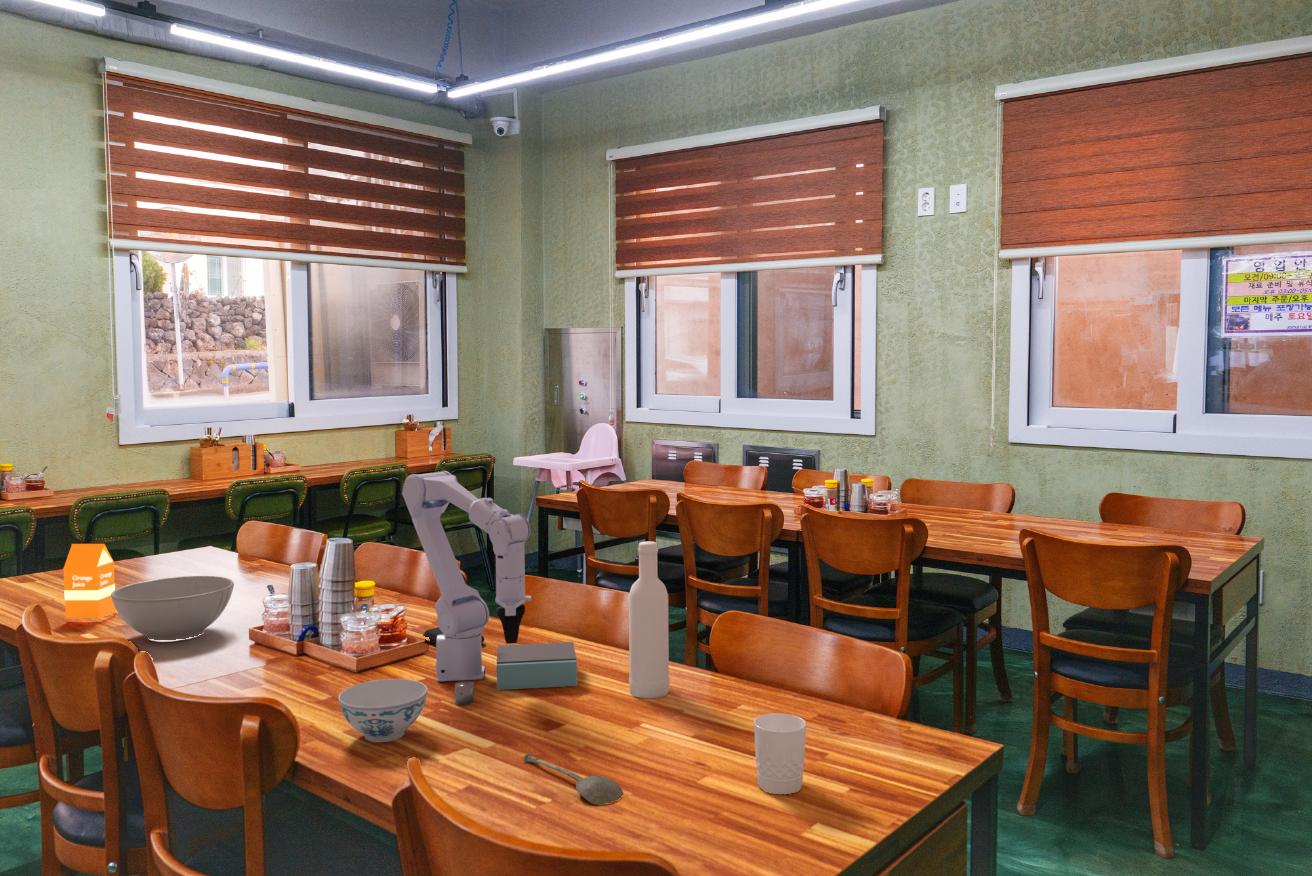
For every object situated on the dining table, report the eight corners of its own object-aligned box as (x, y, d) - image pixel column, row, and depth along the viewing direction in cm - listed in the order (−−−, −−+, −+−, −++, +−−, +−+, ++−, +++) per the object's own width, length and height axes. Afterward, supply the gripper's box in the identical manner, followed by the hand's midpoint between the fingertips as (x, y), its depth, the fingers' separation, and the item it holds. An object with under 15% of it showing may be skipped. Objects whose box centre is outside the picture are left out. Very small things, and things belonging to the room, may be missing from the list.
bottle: (677, 691, 189) (676, 542, 188) (650, 701, 184) (649, 547, 182) (648, 683, 195) (647, 537, 193) (620, 692, 189) (619, 543, 187)
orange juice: (99, 623, 246) (95, 546, 245) (65, 623, 246) (61, 546, 245) (116, 615, 254) (113, 541, 253) (83, 615, 254) (80, 541, 253)
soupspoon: (597, 818, 138) (631, 805, 143) (598, 795, 138) (632, 783, 142) (510, 767, 154) (543, 758, 159) (511, 747, 154) (544, 738, 158)
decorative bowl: (258, 630, 238) (256, 583, 237) (152, 658, 215) (150, 605, 214) (195, 617, 252) (193, 571, 251) (90, 641, 229) (88, 591, 229)
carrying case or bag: (415, 642, 227) (448, 655, 217) (415, 630, 227) (448, 642, 216) (454, 633, 235) (488, 646, 224) (454, 621, 234) (487, 633, 224)
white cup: (749, 776, 149) (749, 714, 149) (799, 774, 150) (799, 712, 149) (759, 798, 142) (759, 732, 141) (811, 796, 142) (811, 730, 142)
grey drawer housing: (497, 688, 192) (496, 662, 192) (498, 670, 204) (498, 645, 204) (576, 684, 194) (576, 658, 194) (573, 667, 206) (573, 642, 206)
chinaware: (444, 725, 172) (443, 683, 172) (396, 756, 158) (395, 711, 158) (374, 716, 177) (373, 675, 177) (321, 745, 163) (319, 701, 163)
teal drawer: (497, 690, 191) (496, 665, 190) (498, 671, 202) (497, 648, 202) (577, 685, 193) (576, 661, 193) (573, 668, 205) (573, 645, 204)
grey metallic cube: (454, 706, 182) (454, 688, 182) (456, 699, 186) (455, 682, 186) (473, 704, 183) (473, 687, 183) (474, 698, 186) (474, 681, 186)
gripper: (530, 582, 184) (531, 651, 185) (530, 567, 199) (531, 632, 200) (493, 584, 183) (495, 653, 184) (495, 569, 198) (497, 633, 199)
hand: (511, 642), depth 192 cm, fingers closed
